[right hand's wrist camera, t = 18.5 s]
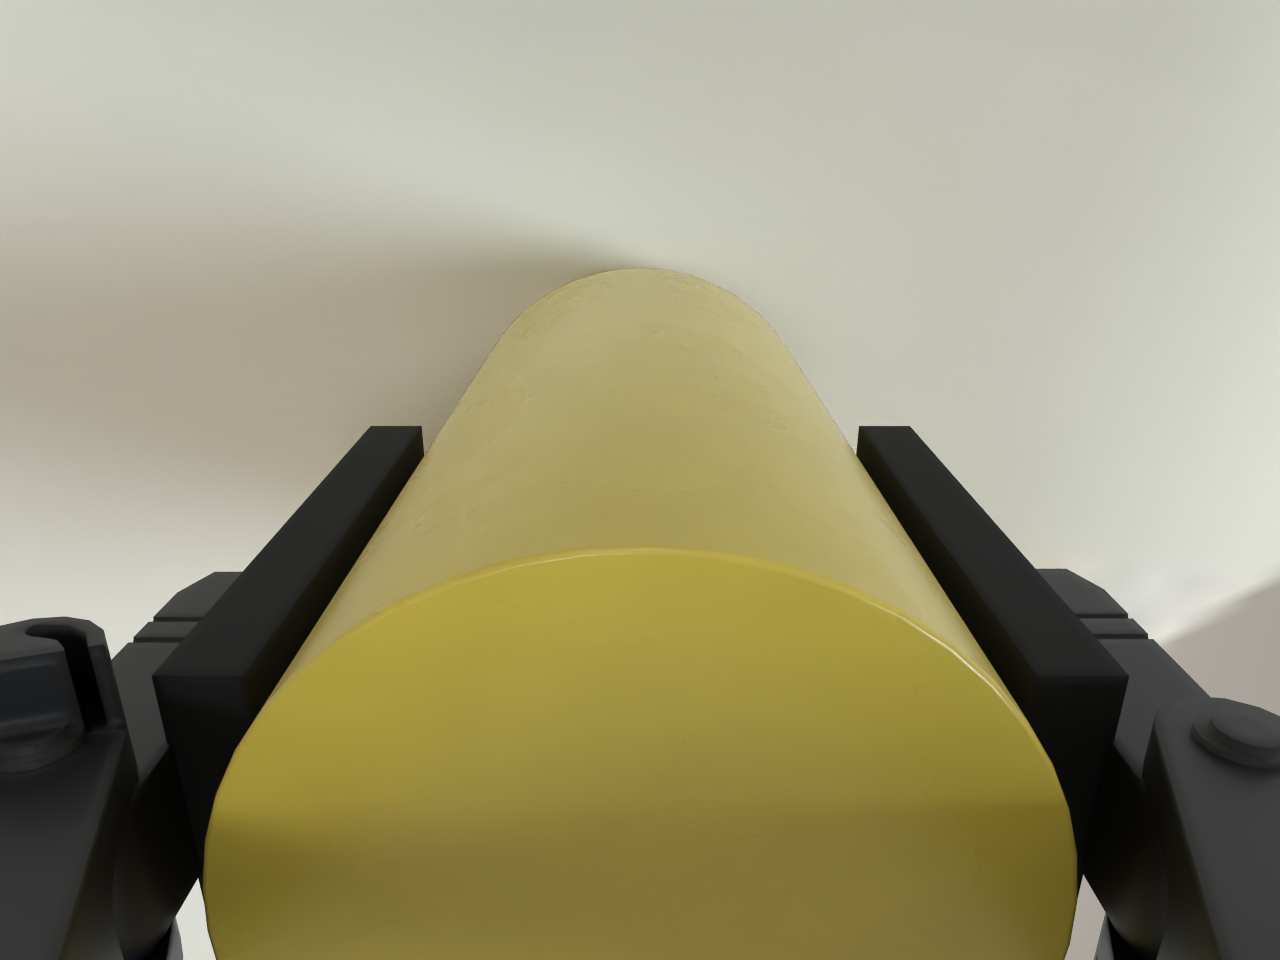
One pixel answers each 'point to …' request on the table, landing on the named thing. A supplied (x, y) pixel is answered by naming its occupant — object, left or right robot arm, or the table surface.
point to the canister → (640, 688)
